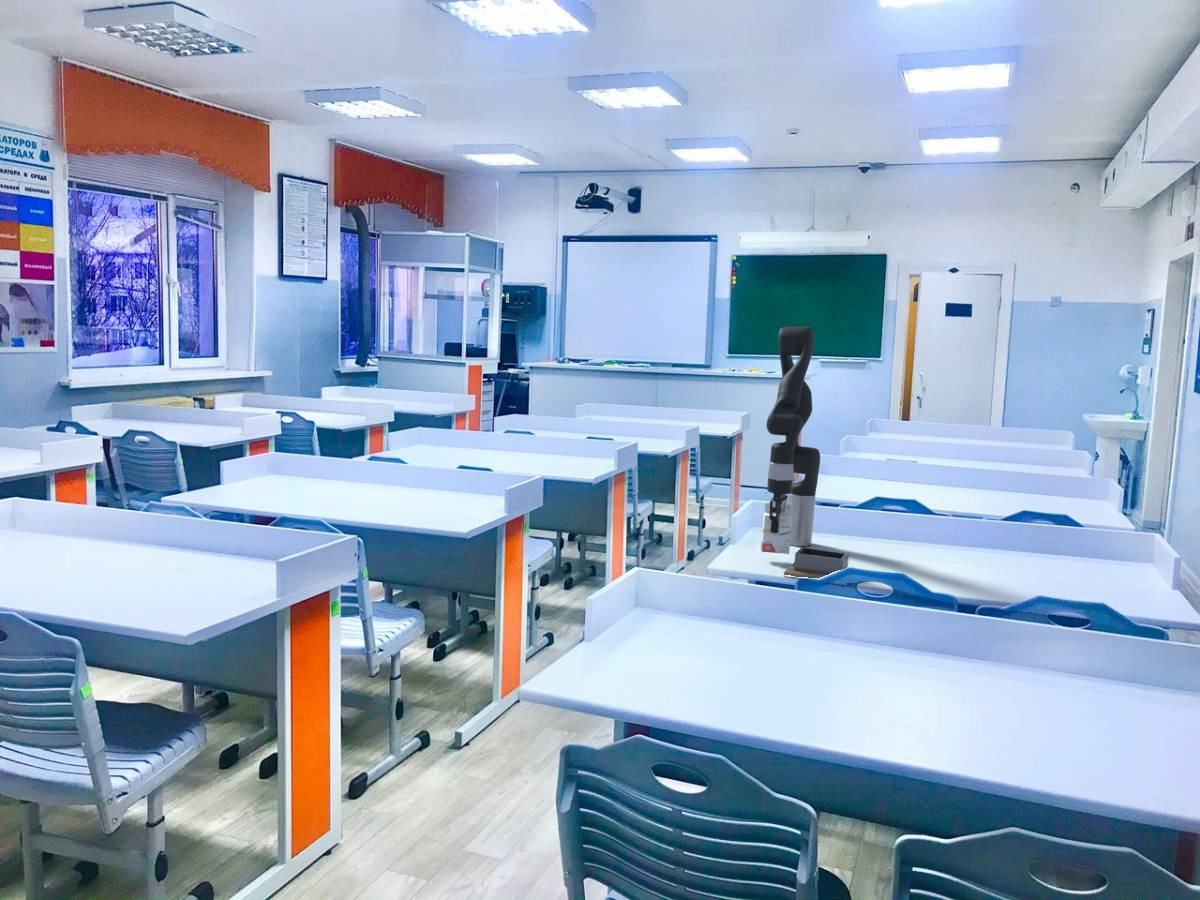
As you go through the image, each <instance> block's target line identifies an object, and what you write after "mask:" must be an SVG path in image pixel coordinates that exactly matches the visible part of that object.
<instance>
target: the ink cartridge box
mask: <svg viewBox="0 0 1200 900" xmlns="http://www.w3.org/2000/svg"><path fill="white" fill-rule="evenodd" d="M778 511H779V510H778ZM790 512H791V505H786V507H785V512H784V513H782V514H780V518H779V519H780V520H779V528H778V533H772V532H771V521H772V520H771V519H769V517H770V502H768V503H767V502H765V504H764V511H763V519H762V529H761V541H760V543H761V544H760V550H761V553H762V552H763V553H771V554H772V553H774V554H785V555H790V550H791V549H790V548H791V547H790V546H791V545H790V538H791V527H792V516H791V515H790ZM774 516H776V514H774Z"/></svg>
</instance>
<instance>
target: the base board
mask: <svg viewBox="0 0 1200 900" xmlns="http://www.w3.org/2000/svg"><path fill="white" fill-rule="evenodd" d="M794 563H795V561H793V563H792V564H791V565H790V566H789V567H788V568H786V569H785V571H784V572H783V576H784V575H791V576H795V577H808V578H820V577H823V576H825V574H819V573H812V572H805V571H798V570H794Z"/></svg>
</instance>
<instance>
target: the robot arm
mask: <svg viewBox="0 0 1200 900" xmlns="http://www.w3.org/2000/svg"><path fill="white" fill-rule="evenodd" d="M777 337H778V339H777V343H778V353H779V360H780V367H781V376H782V378H781V380H780V382H779V385H778V390H777V391H778V392H777V396H776V401H775V404H774V405H773V408H772V409H771V411H770V413H769V415H768V416H767V420H766V426H765V427H766V429H767V431H768V433H769V434H770V435H774V436H783V437H785V441H782V442H774V443H773V444H772V445H771V448H770V456H769V457H770V460H769V461H770V462H769V466H768V473H767V474H768V476H767V485H766V486H767V488H766V489H767V490H766V491H767V492H768V493H771V494H773V497H772V498H771V499H770V502H769V503H770V517H769V519H771V520H772V521H771V532H772V533H778V528H779V520H780V519H779V518H780V514H782V513H784V512H785V507H786V505H791V512H790V515H791V516H792V527H791V538H790V546H793V547H794V546H795V547H809V546H808V545H810V546H812V541H813V540H812V539H813V528H814V517H815V505H816V504H815V502H816V492H817V486H818V479H819V471H820V464H821V453H820V450H819V449H818V448H816V447H811V446H810V447H809V446H800V444H799V437H800V433H801V431H802V430H803V428H804V426H805V425H806V423H807V422H808V420H809V418H810V417H811V415H812V412H813V396H812V391H811V388H810V386H809V385H808V384H807V382H806V381H805V378H806V377H805V376H806V374H807V371H808V368H809V365H810V362H811V359H812V355H813V353H814V348H815V341H816V339H815V332H814V329H813V328H812V327H810V326H784V327H783V326H782V327H781V328H780V329H779V332H778V335H777ZM792 356H793V357H794V356H799V357H798V359H797V361H796V362H795V364H794V360H793V358H792ZM794 474H801V475H804V478H803V479H802V480H801V481H798V482H793V480H794ZM778 510H779V511H778ZM774 514H776V516H774Z"/></svg>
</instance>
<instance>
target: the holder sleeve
mask: <svg viewBox="0 0 1200 900" xmlns="http://www.w3.org/2000/svg"><path fill="white" fill-rule="evenodd" d="M849 556H850V553H847V552H840V551H835V550H834V551H833V550H827V549H826V550H825V549H819V548H811V547H806V546H801V548H800V549H798V550H797V551H796V552H795V554H794V562H795V563H794V562H793V563H794V570H798V571H805V572H812V573H819V574H825V575H828V574H830V573H832V572H835V571H838V570H842V569H845V568H847V567H849Z"/></svg>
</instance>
